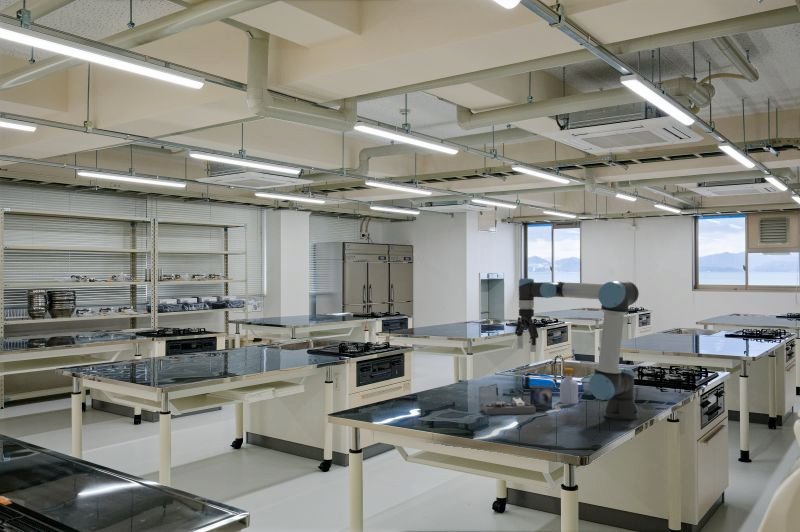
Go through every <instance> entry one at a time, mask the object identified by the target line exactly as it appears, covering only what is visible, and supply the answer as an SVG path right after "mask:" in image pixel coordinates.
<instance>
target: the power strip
mask: <svg viewBox="0 0 800 532" xmlns="http://www.w3.org/2000/svg"><path fill="white" fill-rule="evenodd" d="M522 401H523V403H524V404H525V406H524V407H517V406H516V403H515V402H514V401H513V400H511V402H510V403H509V402H507V403H506V402H505V401H504V404H495V403H494V402H493V401H491V403H482V409H481V410H482V411H483V412H484V413H485V414H486V415H488V414H492V415H517V414H520V415H522V414H523V415H525V414H537V410H549V408H548V407H537V408H536V407H535V406H533V405H532V404H530V402H525V401H524V400H522Z"/></svg>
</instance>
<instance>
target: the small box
mask: <svg viewBox="0 0 800 532" xmlns="http://www.w3.org/2000/svg"><path fill="white" fill-rule="evenodd" d="M529 387H530V389H529V391H530V393H529V396H530V397H529V398H530V402H529V403H530V404H532V405H533V406H535V407H536V408H537V407H548V408H549V409H553V388H552V386H551V385H530V386H529ZM549 409H548V410H549Z"/></svg>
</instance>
